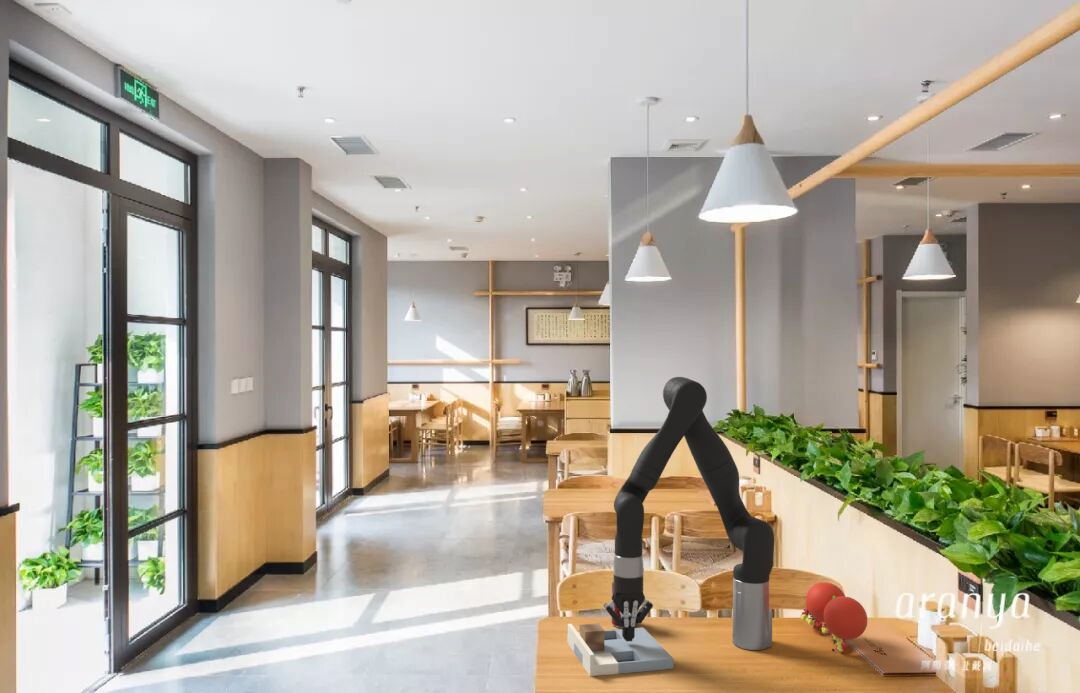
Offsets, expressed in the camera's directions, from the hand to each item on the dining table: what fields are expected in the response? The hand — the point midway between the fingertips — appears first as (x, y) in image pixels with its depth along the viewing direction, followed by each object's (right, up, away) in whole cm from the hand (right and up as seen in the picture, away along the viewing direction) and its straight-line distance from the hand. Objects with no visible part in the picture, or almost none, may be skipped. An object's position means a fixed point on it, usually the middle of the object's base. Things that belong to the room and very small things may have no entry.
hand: (628, 640), depth 199 cm
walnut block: (-9, -1, -2) cm, 10 cm away
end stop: (-12, -1, -3) cm, 13 cm away
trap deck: (-3, -4, -1) cm, 4 cm away
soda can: (+1, -4, +21) cm, 21 cm away
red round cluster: (+55, -4, +10) cm, 56 cm away
